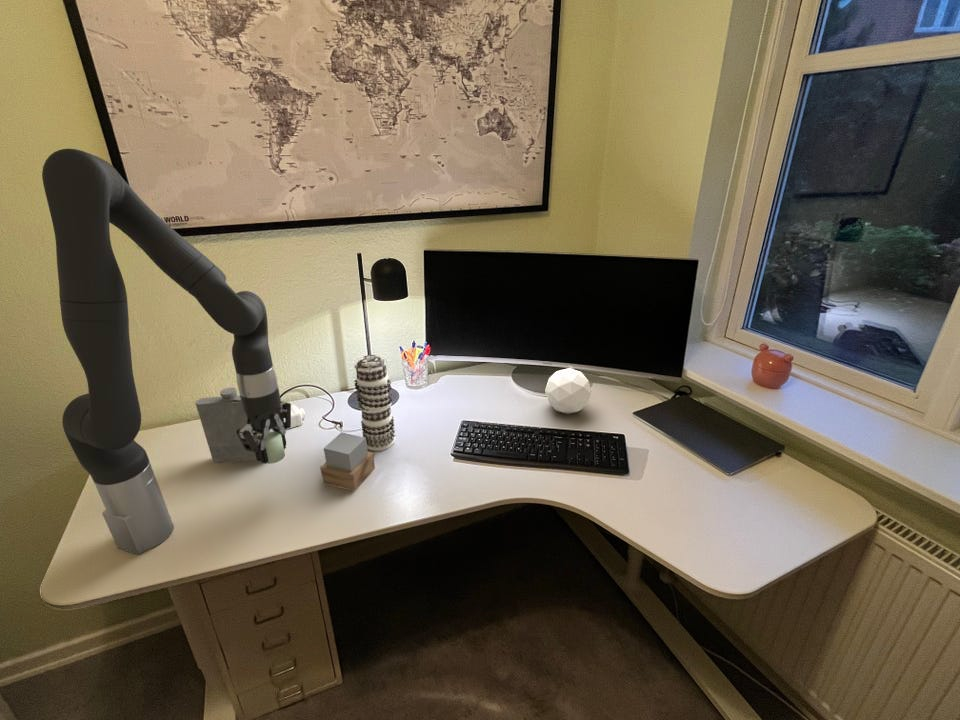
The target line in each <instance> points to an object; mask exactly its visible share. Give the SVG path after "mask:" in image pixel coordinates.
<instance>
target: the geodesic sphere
mask: <svg viewBox="0 0 960 720" xmlns="http://www.w3.org/2000/svg"><path fill="white" fill-rule="evenodd" d="M544 393H545V395H546V398H547V401H548V403H549V404H550V406H551V407H552V408H553V409H554V410H555V411H556V412H559V413H563V414H567V415H568V414H573V413H577V412H579V411H581V410H583V409H584V408H585V407H587V405H588V404H589V402H590V401H589V400H590V398H591V394H592V389H591V385H590V381H589V379H587V377H586V376H585V375H584V373H583V372H582V371H579V370H576V369H575V368H574V367H573V366H572V365H568V368H565V369H560V370H557V371H555V372H554V373H553V374H552V375H551V376H549V378H548V381H547V383H546V386H545V390H544Z"/></svg>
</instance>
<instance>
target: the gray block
mask: <svg viewBox="0 0 960 720" xmlns="http://www.w3.org/2000/svg"><path fill="white" fill-rule="evenodd" d="M323 452H324V457H325V462H326V464H327V466H331V467H335V468H339V469H343V470H346V471H350V472H352V471H353V470H354V469H355V468H356V467H357V466H358V465H359V464H360V463H361V462H362V460H363V459H364V458H365V457H366V456H367V455H368V452H369V451H368V449H367V443H366V438H364V437H363V436H360V435H355V434H351V433H347V432H346V433H345V432H340V433H339V434H337V436H335V437H334V438H333V439H332V440H331V441H330V442H329V443H328V444H326V446H324V447H323Z"/></svg>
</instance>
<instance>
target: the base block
mask: <svg viewBox="0 0 960 720" xmlns="http://www.w3.org/2000/svg"><path fill="white" fill-rule="evenodd" d="M319 468H320V473H321V477H322V478H321V480H322V483H323V484H325V485H330V486H333V487H336V488H337V487H338V488H341V489H345V490H349V491H354V492H356V491H357V490H358V489H359V488H360V487H361V486H362V484H363V483H364V482H365V481H366V479H368V477H369V476H370V475H371V474H372V472H373V471H374V470H375V469H376V465H375V456H374V452H371V451H368V455H367V456H366V457H365V458H364V459H363V460H362V462H361V463H360V464H359V465H358V466H357V467H356V468H355V469H354V470H353V471H352V472H350V471H346V470H343V469H339V468H335V467H331V466H327V464H326V461H325V462H324V463H323V464H322V465H321V466H320V467H319Z"/></svg>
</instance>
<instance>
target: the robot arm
mask: <svg viewBox="0 0 960 720" xmlns="http://www.w3.org/2000/svg"><path fill="white" fill-rule="evenodd" d="M41 176H42V177H41V178H42V184H43V188H44V193H45V197H46V200H47V201H46V202H47V205H48V210H49V214H50V218H51V223H52V227H53V232H54V239H55V251H56V266H57V267H56V268H57V278H58V289H59V291H58V293H59V295H58V296H59V304H60V315H61V321H62V322H61V323H62V327H63V330H64V333H65V335H66V338H67V341H68V343H69V345H70V346H71V348H72V350H73V352H74V353H75V356H76V358H77V359H78V361H79V364H80V365H81V367H82V369H83V371H84V374H85V378H86V382H87V388H88V390H87V391H88V393H85V394H81V395H79V396H76V397H75V398H74V399H72V400H71V401H70V402H69V403H68V404H67V405H66V407H65V408H64V411H63V414H62V420H61V421H62V428H63V431H64V435H65V436H66V439H67V441H68V443H69V445H70V446H71V449H72V451H73V453H74V455H75V456H76V458H77V460H78V463H79V464H80V465H81V467H82V468H83V469H84V471H86V472H87V473H88V474H89V476H90V478H91V479H92V482H93V483H94V485H95V488H96V490H97V492H98V495H99V497H100V499H101V502H102V505H103V506H104V508H105V510H103V511H102V513H101V515H102V516H103V519H104V521H105V523H106V525H107V527H108V529H109V532H110V534H111V537H112V539H113V541H114V544H115V545H116V547H117V548H118V549H120V550H123V551H125V552H126V551H127V552H129V553H132V554H135V555H142V553H143V552H146V551H147V550H150V549H153V548H154V547H156V546H158V545H160V544H162V543H163V542H165V540H166V539H168V538H169V537H170V536H171V535H172V533H173V530H174V523H173V520H172V517H171V515H170V512H169V509H168V507H167V504H166V502H165V500H164V496H163V494H162V491H161V489H160V486H159V483H158V481H157V478H156V475H155V472H154V470H153V467H152V464H151V462H150V459H149V456H148V453H147V451H146V450H145V448H144V447H142V445H140V444H139V443H138V442H136V440H135V439H136V437H137V436H138V434H139V432H140V428H141V427H142V426H141V425H142V412H141V407H140V402H139V397H138V392H137V387H136V383H135V377H134V370H133V361H132V360H133V359H132V350H131V340H130V338H131V337H130V321H129V320H130V317H129V305H128V294H127V290H126V289H127V288H126V284H125V282H124V278H123V274H122V271H121V269H120V266H119V264H118V261H117V259H116V256H115V254H114V253H115V252H114V251H113V246H112V242H111V233H110V224H111V225H113V226H114V227H116V228H117V229H118V230H120V231H121V232H122V233H123V234H125V236H127V237H128V238H129V239H131V240H132V241H133V242H134V243H135V244H136V245H137V246H138V247H139V248H140V249H141V250H142V251H143V253H144V254H146V255H147V256H148V258H149V259H150V260H151V261H152V262H153V263H154V264H155V265H156V267H158V268H159V270H161V272H163V273H164V274H165V275H166V276H167V277H168V278H170V279H171V281H174V282H175V284H177V285H178V286H180V287H181V288H182V289H184V291H186V292H187V293H188V294H189V295H191V296H193V297H194V299H195V300H196V301H197V302H198V303H199V304H200V306H201V307H202V309H204V311H205V312H206V313H207V314H208V315H209V317H210V318H211V319H212V320H213V321H214V322H215V323H216V324H217V325H218V326H219V327H220V328H222V329H223V330H224V331H226V332H227V333H230V334H232V335H233V344H232V346H231V347H232V348H231V357H232V360H233V364H234V369H235V375H236V384H237V385H236V386H237V388H238V389H237V390H238V394H239V396H240V398H241V403H242V407H243V410H244V412H245V413H246V415H247V425H246V426H245V427H244V428H243V429H237V431H236V433H237V435H238V437H239V439H240V441H241V443H242V445H243V446H244V448H245V450H247V451H251V452H255V455H256V459H257V461H256V462H259V463H261V464H262V465H263V464H264V465H266V463H267V462H268V456H267V452H266V448H265V441H266V439H267V438H268V432H269V430H270V429H272V430H273V432H278V433H280V434H281V436H282V441H283V446H284V450H286V449H287V441H286V435H285V434H286V432H287V430H288V429H287V428H289V429H291V428H290V427H291V405H292V404H291V403H290V402H285V401H282V399H281V395H280V394H281V393H280V389H279V388H280V387H279V384H278V378H277V375H276V370H275V368H274V366H273V365H274V364H273V359H272V354H271V350H270V346H269V345H270V344H269V330H268V329H269V325H268V324H269V323H268V315H267V309H266V306H265V303H264V301H263V300H262V298H261V297H260V296H259V295H257V294H256V293H254V292H252V291H248V290H241V291H238V292H235V290H234V289H233V288H232V287H231V286H229V284H228V283H227V276H226V274H225V273H224V271H222V270H221V268H219V266H217V265H216V264H215V263H214V262H213V261H211V260H210V259H209V258H208V257H207V256H206V255H205V254H203V253H202V252H201V251H200V250H199V249H197V248H196V247H195V246H194V245H193V244H191V243H190V242H189V241H188V240H187V239H185V238H184V237H182V235H181V234H179V233H178V232H177V231H176V230H175V229H173V228H172V227H171V226H169V224H168V223H166V222H165V221H164V220H163V219H162V218H161V217H159V215H157V214H156V213H155V212H154V211H153V210H152V209H151V208H150V207H149V206H148V205H147V204H146V203H145V202H144V201H143V199H141V198H140V196H139V195H138V194H137V193H136V192H135V190H133V188H132V187H131V186H130V185H129V183H128V182H127V181H126V180H125V179H124V178H123V177H122V175H121V174H120V173H119V172H118V171H117V169H116V168H115V167H114V166H113V165H112V164H111V163H110V162H108V161H107V160H105V159H103V158H101V157H99V156H96V155H94V154H92V153H89V152H87V151H84V150H81V149H77V148H76V149H75V148H63V149H59V150H56V151H54V152H52V153H51V154H50V155H48V157H47V158H46V160H45V161H44V164H43V166H42V171H41ZM284 418H285V422H284ZM257 432H259V433H262V435H261V434H258V433H257ZM258 439H259V440H260V444H258Z"/></svg>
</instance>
